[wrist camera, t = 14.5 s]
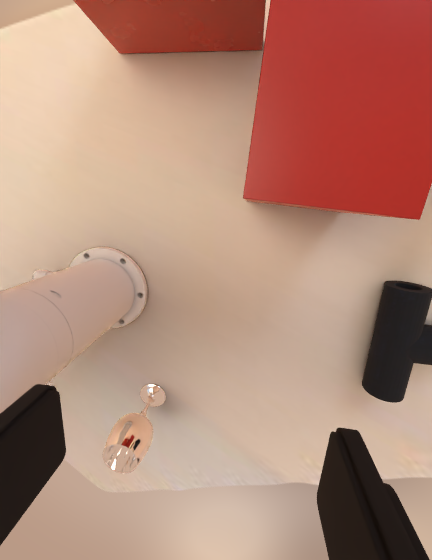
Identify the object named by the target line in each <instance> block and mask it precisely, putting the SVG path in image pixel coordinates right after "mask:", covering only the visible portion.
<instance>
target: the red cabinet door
mask: <svg viewBox="0 0 432 560" xmlns="http://www.w3.org/2000/svg"><path fill="white" fill-rule="evenodd" d="M74 1H75V3H76V4H77V5H78V6H79V7H80V8H81V10H82V11H83V12H84V13H85V14H86V15H87V16H88V18H89V19H90V20H91V21H92V22H93V23H94V24H95V26H96V27H97V28H98V29H99V30H100V31H101V32H102V34H103V35H104V36H105V37H106V38H107V39H108V40H109V42H110V43H111V44H112V45H113V46H114V47H115V48H116V50H117V51H118V52H119V53H157V52H195V51H233V50H262V46H263V32H264V17H265V3H266V0H74Z"/></svg>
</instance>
